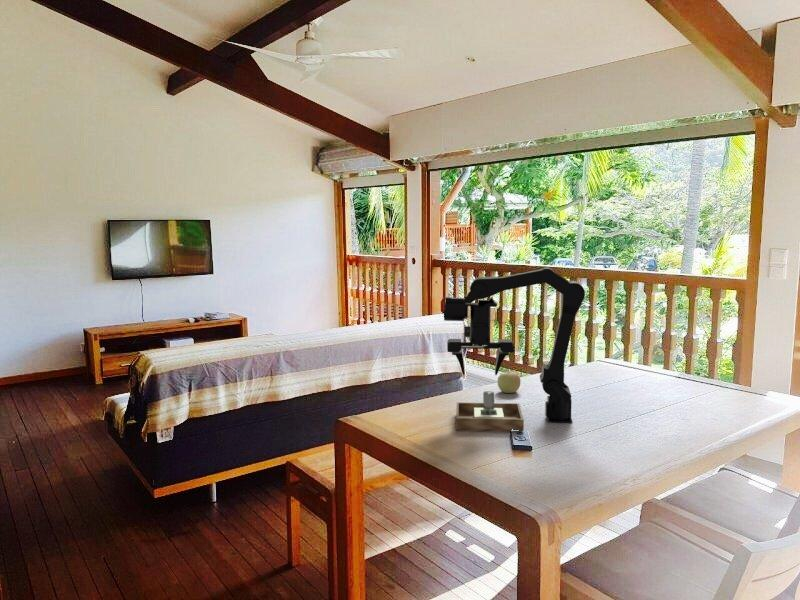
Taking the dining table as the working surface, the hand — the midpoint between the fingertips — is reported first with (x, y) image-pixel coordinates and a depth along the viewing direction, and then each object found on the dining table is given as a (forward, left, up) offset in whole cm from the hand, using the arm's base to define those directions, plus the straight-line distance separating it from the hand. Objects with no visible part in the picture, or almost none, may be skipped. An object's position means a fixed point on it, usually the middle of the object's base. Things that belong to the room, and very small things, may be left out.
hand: (479, 374), depth 172 cm
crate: (-2, +6, -12) cm, 14 cm away
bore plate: (-2, +6, -12) cm, 14 cm away
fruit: (-10, -24, -13) cm, 29 cm away
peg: (-2, +6, -12) cm, 13 cm away
